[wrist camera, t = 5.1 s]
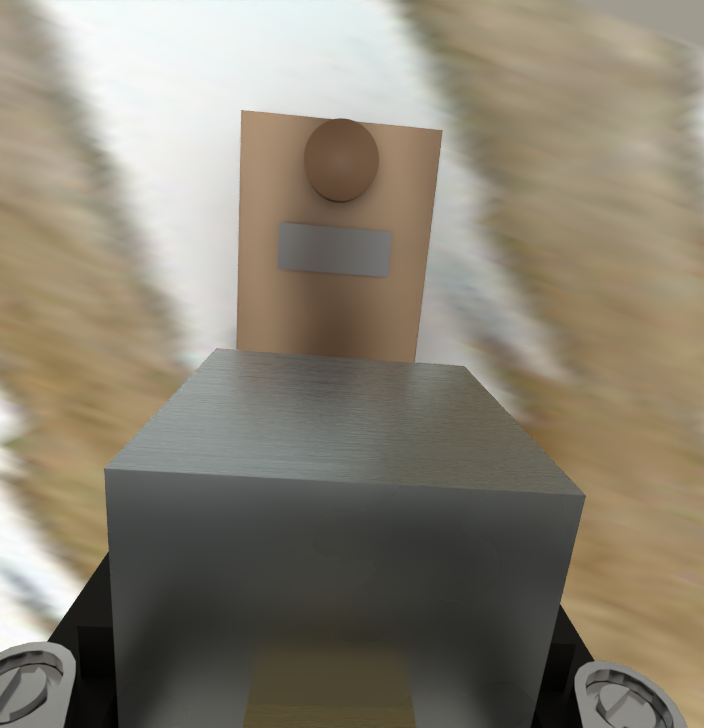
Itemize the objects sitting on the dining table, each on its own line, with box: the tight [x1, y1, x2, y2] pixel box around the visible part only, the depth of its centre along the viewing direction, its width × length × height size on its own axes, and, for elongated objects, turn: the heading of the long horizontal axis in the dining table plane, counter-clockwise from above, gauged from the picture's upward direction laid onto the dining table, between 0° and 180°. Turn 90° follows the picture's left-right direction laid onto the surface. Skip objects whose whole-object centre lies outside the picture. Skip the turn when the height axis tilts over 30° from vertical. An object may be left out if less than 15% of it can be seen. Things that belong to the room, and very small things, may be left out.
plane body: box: [237, 110, 443, 363], centre depth 25 cm, size 9×20×8 cm, turn 175°
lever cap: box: [104, 349, 586, 728], centre depth 8 cm, size 5×8×6 cm, turn 175°
